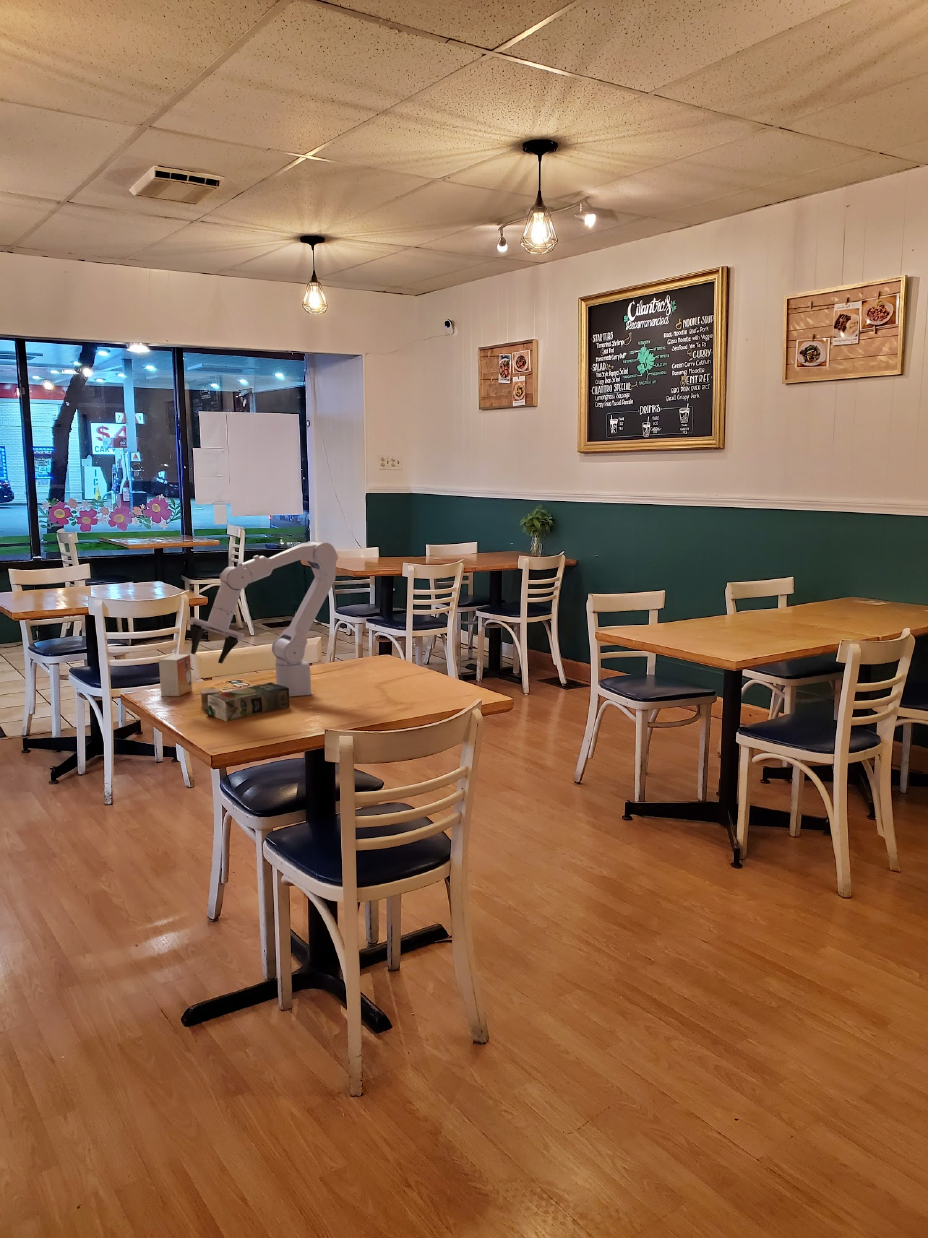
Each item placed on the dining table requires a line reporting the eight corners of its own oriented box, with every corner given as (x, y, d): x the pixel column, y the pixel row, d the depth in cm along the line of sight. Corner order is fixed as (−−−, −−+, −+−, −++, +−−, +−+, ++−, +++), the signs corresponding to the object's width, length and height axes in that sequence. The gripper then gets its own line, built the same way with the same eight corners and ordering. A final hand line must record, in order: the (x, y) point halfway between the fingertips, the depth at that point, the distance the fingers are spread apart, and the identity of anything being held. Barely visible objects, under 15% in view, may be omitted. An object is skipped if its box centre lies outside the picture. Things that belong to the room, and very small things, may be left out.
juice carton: (222, 723, 234) (221, 699, 233) (203, 716, 241) (202, 693, 240) (290, 709, 247) (290, 686, 247) (270, 703, 254) (269, 681, 254)
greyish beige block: (218, 704, 252) (218, 688, 251) (220, 708, 247) (219, 692, 247) (201, 706, 250) (200, 689, 249) (202, 710, 246) (201, 693, 245)
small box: (178, 697, 260) (176, 660, 258) (160, 696, 261) (158, 659, 259) (192, 690, 267) (190, 654, 266) (174, 689, 268) (172, 653, 267)
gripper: (193, 600, 245) (176, 649, 244) (245, 617, 245) (228, 667, 244) (200, 602, 252) (184, 650, 251) (251, 619, 252) (235, 667, 251)
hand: (206, 658), depth 248 cm, fingers open, 7 cm apart
